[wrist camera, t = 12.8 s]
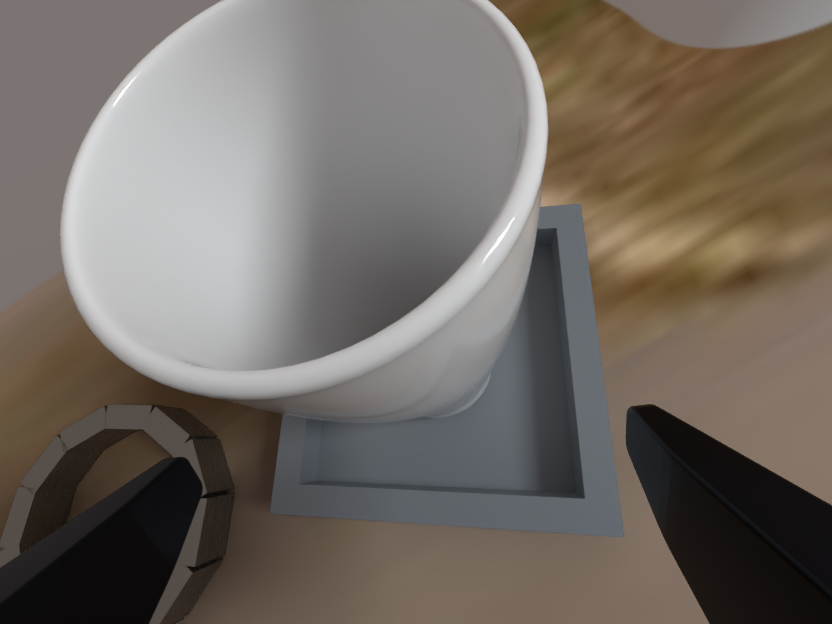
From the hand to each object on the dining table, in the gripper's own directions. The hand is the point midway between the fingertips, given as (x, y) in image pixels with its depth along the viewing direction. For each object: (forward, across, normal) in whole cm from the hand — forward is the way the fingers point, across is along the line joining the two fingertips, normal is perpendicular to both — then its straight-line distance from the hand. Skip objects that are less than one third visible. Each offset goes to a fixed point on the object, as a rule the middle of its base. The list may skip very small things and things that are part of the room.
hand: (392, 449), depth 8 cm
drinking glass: (+10, 0, +5) cm, 11 cm away
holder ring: (+7, +17, +9) cm, 20 cm away
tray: (+11, 0, +5) cm, 12 cm away
